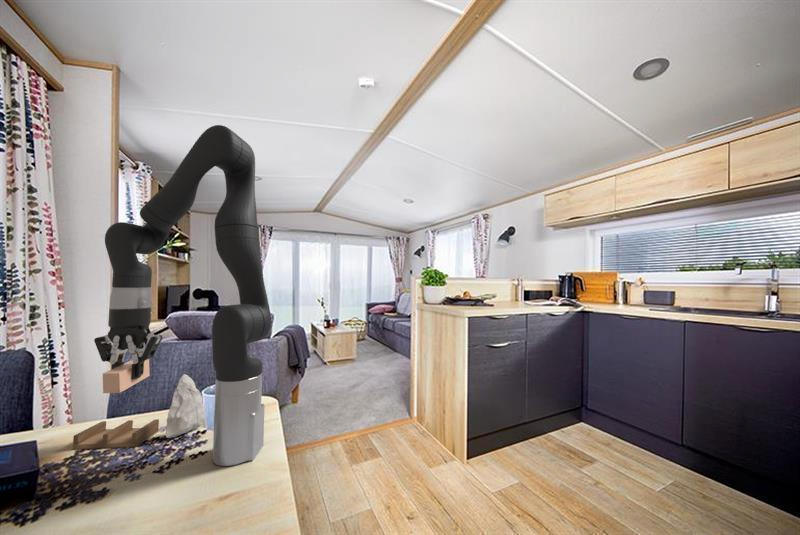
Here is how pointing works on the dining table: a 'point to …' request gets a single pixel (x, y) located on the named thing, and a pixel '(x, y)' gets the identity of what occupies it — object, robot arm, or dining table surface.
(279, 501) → the dining table surface
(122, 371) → the pink rectangular block
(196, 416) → the stone tool
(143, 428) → the rack
